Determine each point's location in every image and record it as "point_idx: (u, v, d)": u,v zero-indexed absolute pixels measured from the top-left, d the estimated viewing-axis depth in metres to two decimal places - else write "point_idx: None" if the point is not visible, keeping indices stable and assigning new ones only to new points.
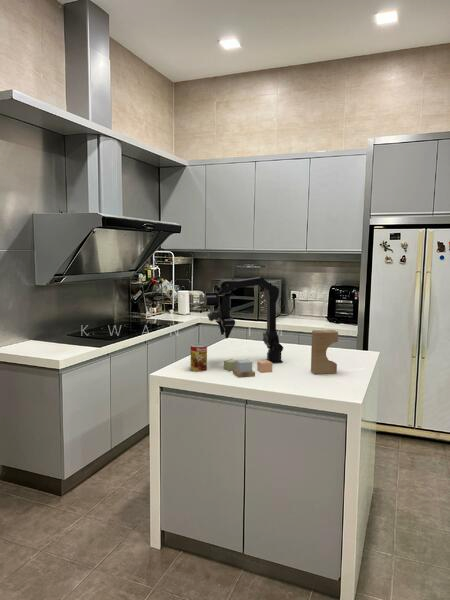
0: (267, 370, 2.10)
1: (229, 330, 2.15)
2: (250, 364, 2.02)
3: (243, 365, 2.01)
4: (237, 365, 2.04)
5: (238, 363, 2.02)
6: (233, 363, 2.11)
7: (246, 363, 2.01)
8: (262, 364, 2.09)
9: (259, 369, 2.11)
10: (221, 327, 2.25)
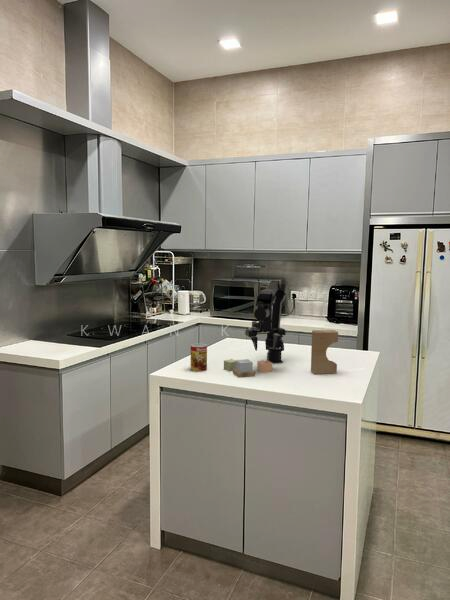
0: (267, 370, 2.10)
1: (254, 342, 2.08)
2: (250, 364, 2.02)
3: (243, 365, 2.01)
4: (237, 365, 2.04)
5: (238, 363, 2.02)
6: (233, 363, 2.11)
7: (246, 363, 2.01)
8: (262, 364, 2.09)
9: (259, 369, 2.11)
10: (274, 341, 2.13)
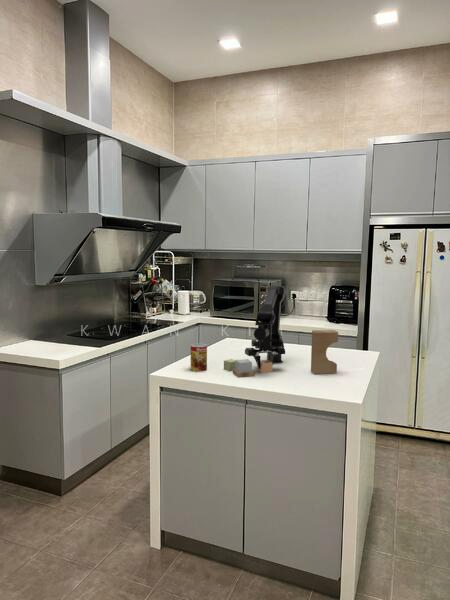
0: (267, 370, 2.10)
1: (257, 361, 2.09)
2: (250, 364, 2.02)
3: (243, 365, 2.01)
4: (237, 365, 2.04)
5: (238, 363, 2.03)
6: (233, 363, 2.11)
7: (246, 363, 2.02)
8: (262, 364, 2.09)
9: None
10: (270, 360, 2.13)
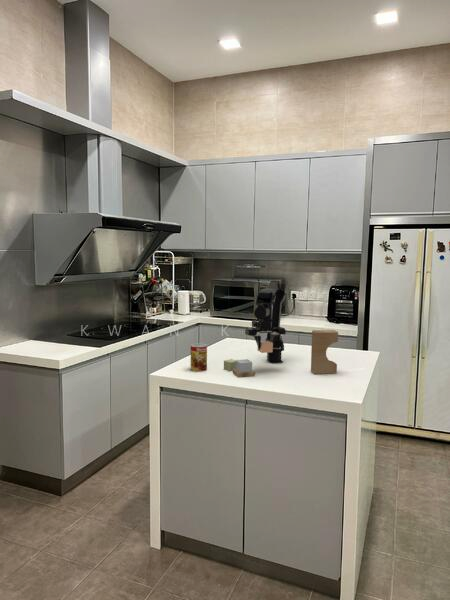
0: (267, 350, 2.08)
1: (257, 341, 2.08)
2: (250, 364, 2.02)
3: (243, 365, 2.01)
4: (237, 365, 2.04)
5: (238, 363, 2.02)
6: (233, 363, 2.11)
7: (246, 363, 2.01)
8: (262, 344, 2.07)
9: None
10: (270, 340, 2.12)
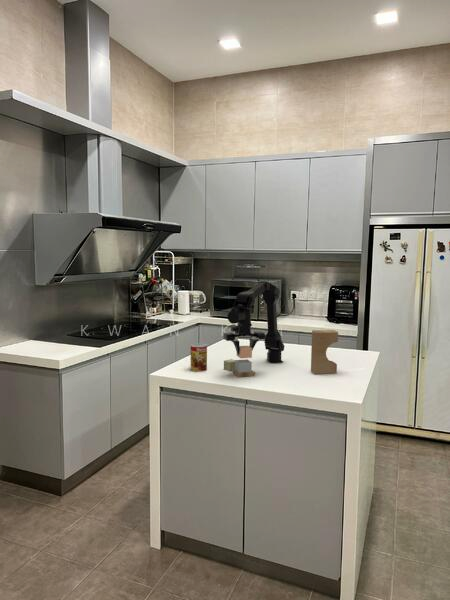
0: (246, 355, 2.01)
1: (236, 346, 2.01)
2: (249, 364, 2.02)
3: (242, 365, 2.01)
4: (236, 365, 2.04)
5: (237, 363, 2.02)
6: (233, 363, 2.11)
7: (245, 363, 2.01)
8: (241, 349, 2.00)
9: None
10: (250, 345, 2.05)
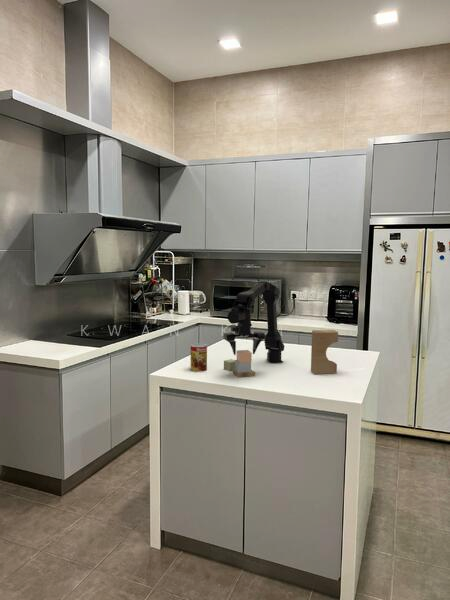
0: (246, 360, 2.01)
1: (232, 346, 2.01)
2: (249, 364, 2.02)
3: (241, 365, 2.01)
4: (236, 365, 2.04)
5: (237, 363, 2.02)
6: (233, 363, 2.11)
7: (245, 363, 2.01)
8: (241, 354, 2.01)
9: (238, 358, 2.04)
10: (253, 345, 2.05)
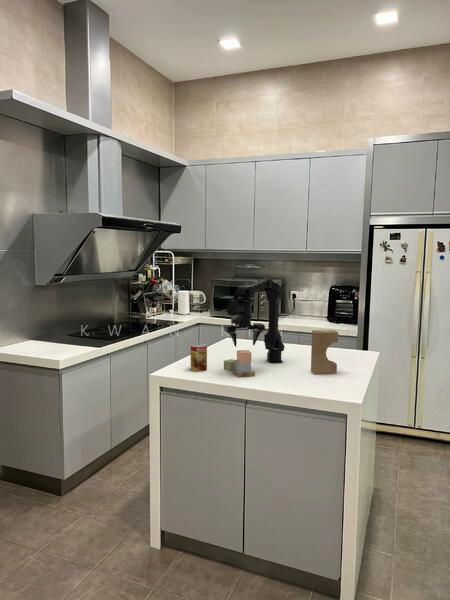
0: (246, 360, 2.02)
1: (233, 338, 2.06)
2: (249, 364, 2.02)
3: (241, 365, 2.01)
4: (236, 365, 2.04)
5: (237, 363, 2.03)
6: (233, 363, 2.11)
7: (244, 363, 2.01)
8: (240, 354, 2.01)
9: (238, 358, 2.04)
10: (253, 336, 2.10)
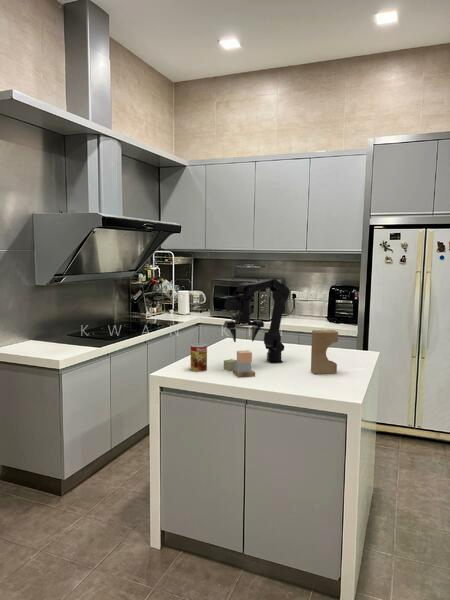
0: (246, 360, 2.01)
1: (233, 334, 2.13)
2: (249, 364, 2.02)
3: (241, 365, 2.01)
4: (236, 365, 2.04)
5: (237, 363, 2.03)
6: (233, 363, 2.11)
7: (244, 363, 2.01)
8: (241, 354, 2.00)
9: (238, 359, 2.03)
10: (252, 333, 2.17)
